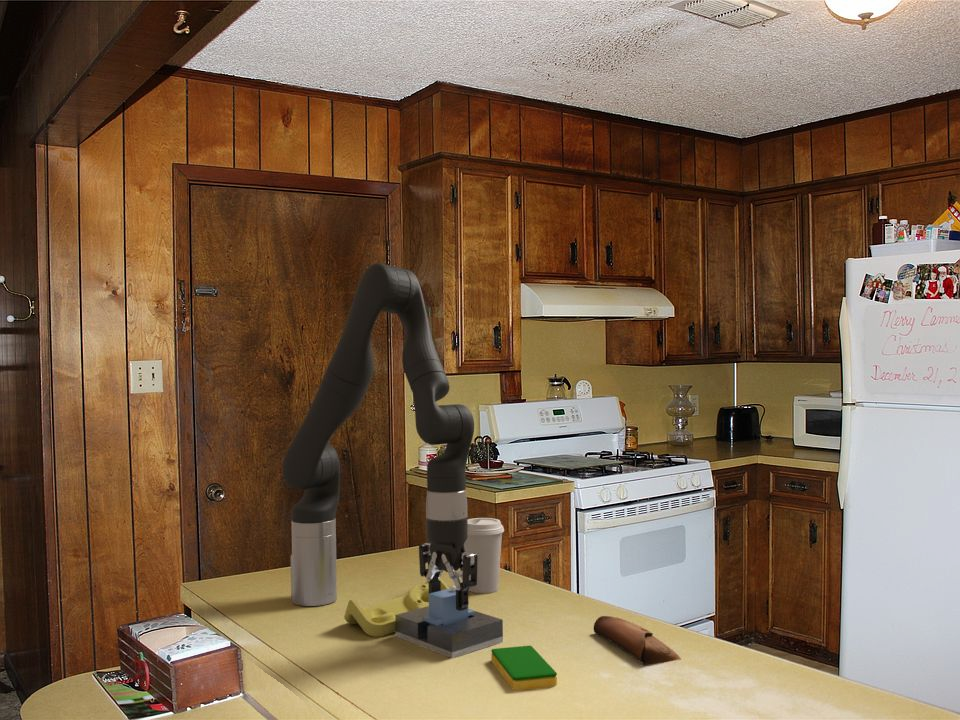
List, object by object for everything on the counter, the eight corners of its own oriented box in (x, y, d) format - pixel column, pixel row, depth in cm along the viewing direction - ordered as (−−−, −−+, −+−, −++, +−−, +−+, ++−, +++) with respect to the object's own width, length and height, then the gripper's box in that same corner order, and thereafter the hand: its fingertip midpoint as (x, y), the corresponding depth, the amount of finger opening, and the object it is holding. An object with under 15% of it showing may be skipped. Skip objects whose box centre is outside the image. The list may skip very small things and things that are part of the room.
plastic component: (372, 628, 160) (347, 594, 167) (366, 659, 163) (341, 624, 170) (460, 600, 172) (433, 569, 179) (453, 629, 175) (426, 598, 182)
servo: (422, 637, 158) (422, 591, 158) (460, 625, 164) (459, 581, 164) (437, 642, 155) (436, 595, 155) (474, 630, 161) (474, 585, 161)
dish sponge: (531, 658, 151) (531, 644, 151) (557, 688, 137) (557, 673, 137) (491, 662, 149) (490, 648, 149) (513, 693, 135) (513, 677, 135)
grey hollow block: (395, 636, 162) (395, 615, 162) (445, 622, 170) (445, 601, 170) (452, 658, 150) (451, 634, 150) (502, 641, 158) (502, 619, 158)
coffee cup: (478, 581, 200) (477, 515, 199) (513, 587, 194) (512, 519, 194) (452, 591, 192) (451, 522, 192) (488, 597, 186) (487, 527, 186)
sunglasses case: (686, 659, 148) (668, 627, 147) (654, 685, 146) (636, 653, 145) (633, 628, 165) (616, 599, 164) (604, 651, 163) (587, 622, 162)
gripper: (488, 517, 157) (490, 609, 157) (437, 507, 167) (438, 593, 168) (457, 523, 152) (458, 618, 152) (406, 512, 162) (407, 601, 163)
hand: (448, 605), depth 160 cm, fingers open, 7 cm apart
